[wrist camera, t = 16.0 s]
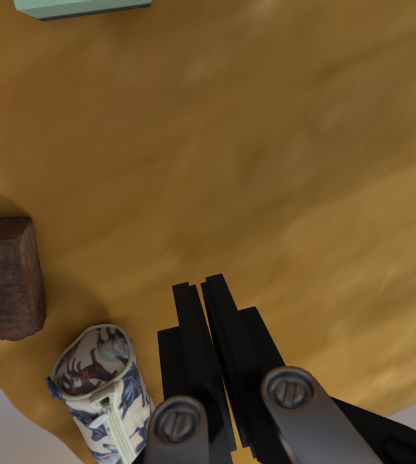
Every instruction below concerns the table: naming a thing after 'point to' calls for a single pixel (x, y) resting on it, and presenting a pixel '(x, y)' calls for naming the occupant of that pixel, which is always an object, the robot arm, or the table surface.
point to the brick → (20, 281)
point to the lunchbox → (74, 7)
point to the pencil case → (104, 393)
